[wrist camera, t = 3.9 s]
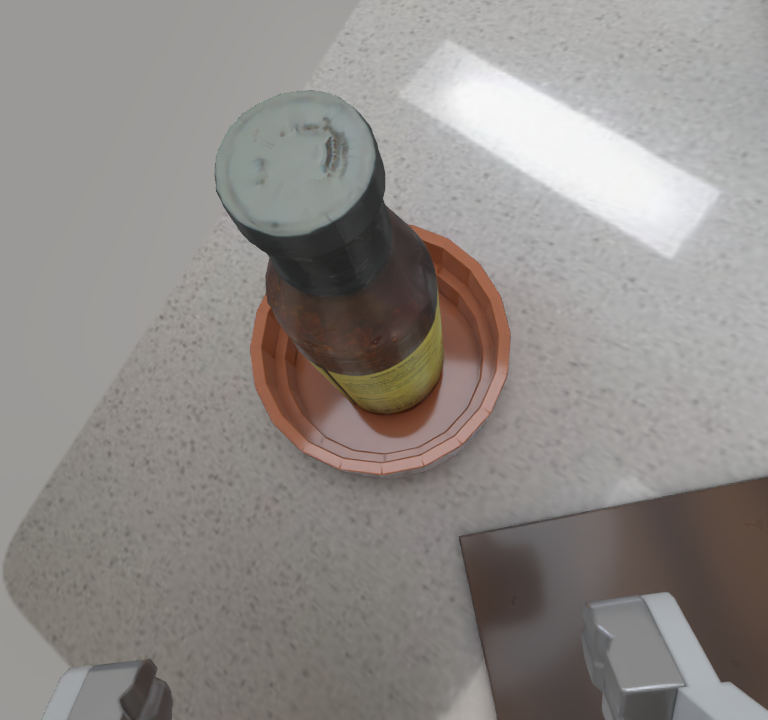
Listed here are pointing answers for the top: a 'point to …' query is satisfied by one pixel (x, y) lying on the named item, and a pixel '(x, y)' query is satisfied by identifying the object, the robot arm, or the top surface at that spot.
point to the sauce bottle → (335, 248)
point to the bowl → (407, 429)
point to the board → (620, 591)
